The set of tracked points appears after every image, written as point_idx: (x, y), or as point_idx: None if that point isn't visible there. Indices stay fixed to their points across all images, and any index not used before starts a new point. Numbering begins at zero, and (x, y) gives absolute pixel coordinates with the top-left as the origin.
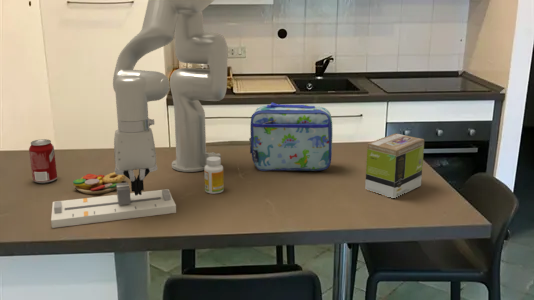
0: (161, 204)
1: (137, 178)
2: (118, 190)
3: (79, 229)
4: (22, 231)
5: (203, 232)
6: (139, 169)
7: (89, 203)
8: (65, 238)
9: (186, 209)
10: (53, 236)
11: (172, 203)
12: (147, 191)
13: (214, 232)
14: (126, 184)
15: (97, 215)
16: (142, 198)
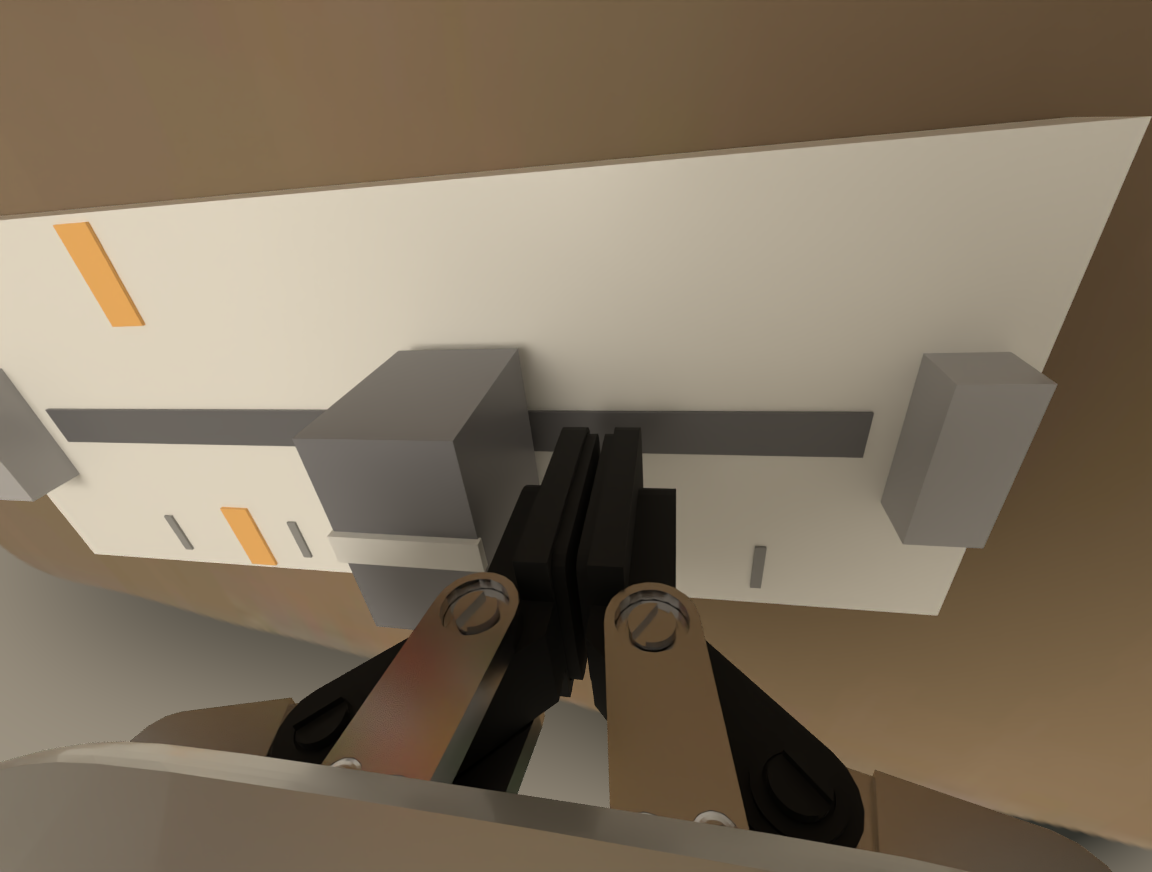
0: (817, 562)
1: (589, 601)
2: (385, 624)
3: (291, 573)
4: (20, 509)
5: (937, 786)
6: (617, 780)
7: (183, 365)
8: (266, 627)
9: (1030, 537)
10: (202, 596)
11: (928, 574)
12: (771, 156)
13: (996, 803)
14: (443, 508)
15: (334, 566)
16: (666, 383)
